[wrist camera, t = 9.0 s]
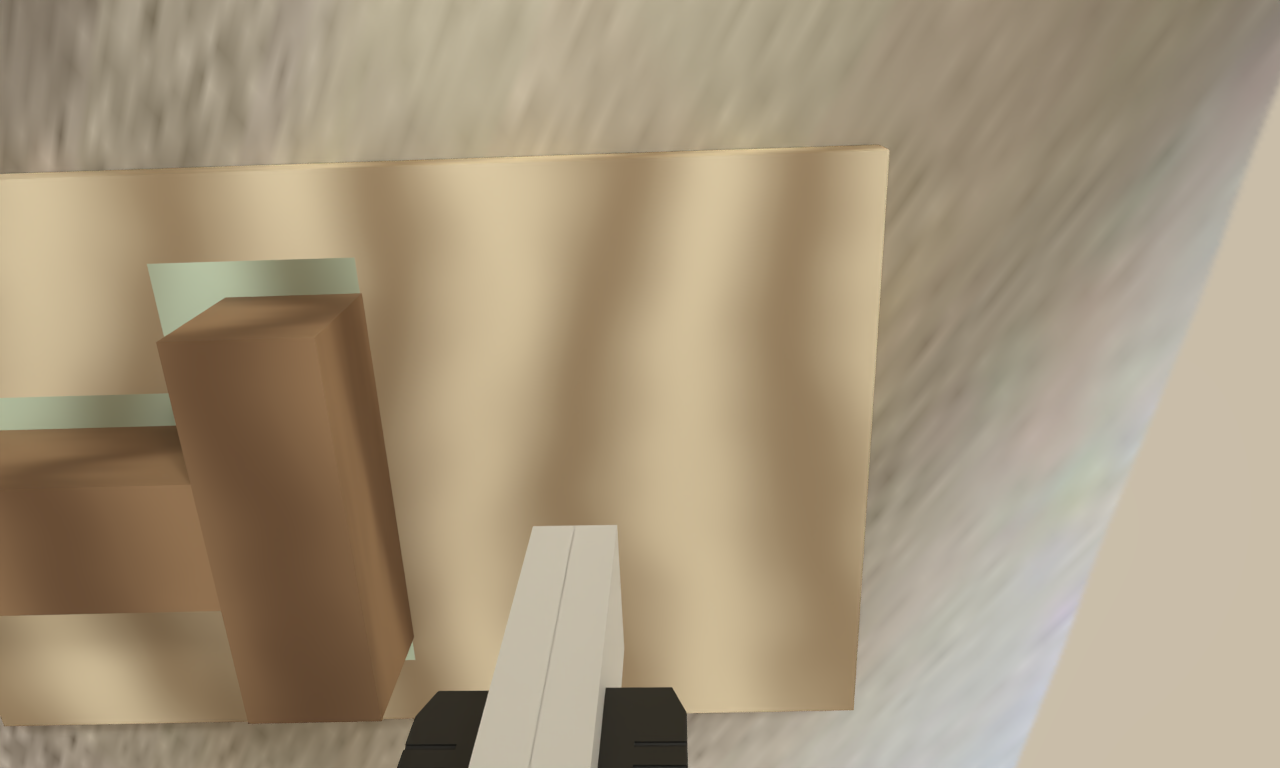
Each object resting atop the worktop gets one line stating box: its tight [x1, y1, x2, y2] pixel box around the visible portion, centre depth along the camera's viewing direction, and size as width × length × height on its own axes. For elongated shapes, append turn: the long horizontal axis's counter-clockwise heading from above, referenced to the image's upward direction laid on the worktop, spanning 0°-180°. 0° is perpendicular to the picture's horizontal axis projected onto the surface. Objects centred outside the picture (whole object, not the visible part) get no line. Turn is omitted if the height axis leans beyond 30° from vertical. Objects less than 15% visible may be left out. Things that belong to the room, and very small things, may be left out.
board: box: [0, 145, 889, 726], centre depth 29 cm, size 30×19×1 cm, turn 92°
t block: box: [0, 293, 414, 724], centre depth 27 cm, size 12×12×4 cm
